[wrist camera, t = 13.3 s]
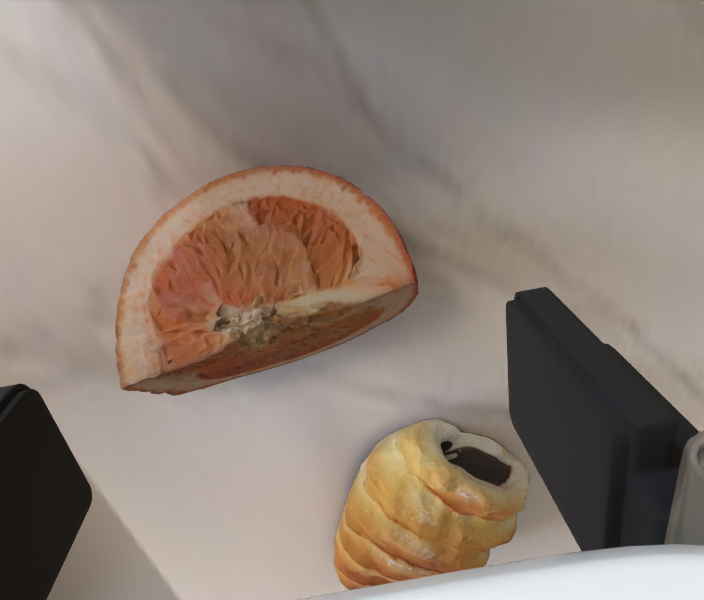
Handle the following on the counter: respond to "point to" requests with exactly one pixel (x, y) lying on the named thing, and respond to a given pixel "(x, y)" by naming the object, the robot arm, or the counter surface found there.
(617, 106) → the counter surface
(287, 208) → the fruit slice
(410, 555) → the pastry
